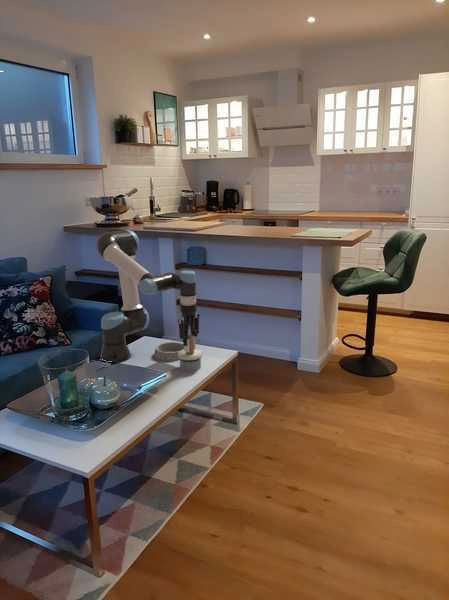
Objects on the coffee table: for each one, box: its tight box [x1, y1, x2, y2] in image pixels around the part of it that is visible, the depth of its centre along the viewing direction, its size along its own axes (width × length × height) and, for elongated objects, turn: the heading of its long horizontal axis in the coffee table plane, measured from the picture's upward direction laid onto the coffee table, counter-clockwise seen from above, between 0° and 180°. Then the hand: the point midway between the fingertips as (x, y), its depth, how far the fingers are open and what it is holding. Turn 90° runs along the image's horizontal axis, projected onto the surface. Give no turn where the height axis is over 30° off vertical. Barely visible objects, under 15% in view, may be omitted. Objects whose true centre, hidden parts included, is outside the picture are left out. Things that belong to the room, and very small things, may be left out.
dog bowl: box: [153, 341, 184, 362], centre depth 251 cm, size 17×18×5 cm
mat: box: [145, 360, 179, 374], centre depth 234 cm, size 13×13×1 cm
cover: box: [178, 333, 203, 360], centre depth 232 cm, size 12×12×10 cm
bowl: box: [179, 357, 202, 372], centre depth 234 cm, size 10×10×6 cm
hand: (189, 350), depth 232 cm, fingers closed on cover, 4 cm apart
